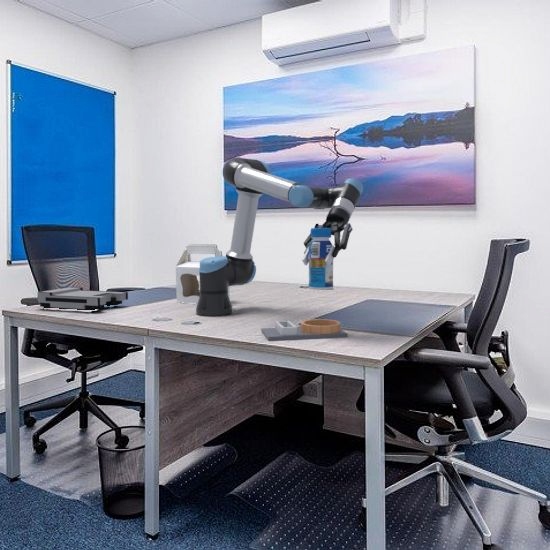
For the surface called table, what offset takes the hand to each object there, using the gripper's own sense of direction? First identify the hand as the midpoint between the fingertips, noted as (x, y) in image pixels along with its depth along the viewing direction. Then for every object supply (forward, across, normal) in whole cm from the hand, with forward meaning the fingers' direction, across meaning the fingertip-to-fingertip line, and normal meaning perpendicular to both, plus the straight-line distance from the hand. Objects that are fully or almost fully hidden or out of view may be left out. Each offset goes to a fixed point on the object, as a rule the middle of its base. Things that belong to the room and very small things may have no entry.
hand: (315, 263), depth 166 cm
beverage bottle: (+4, 0, -9) cm, 10 cm away
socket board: (+18, +4, -16) cm, 24 cm away
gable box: (-7, +84, -41) cm, 94 cm away
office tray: (+24, +116, -11) cm, 119 cm away
